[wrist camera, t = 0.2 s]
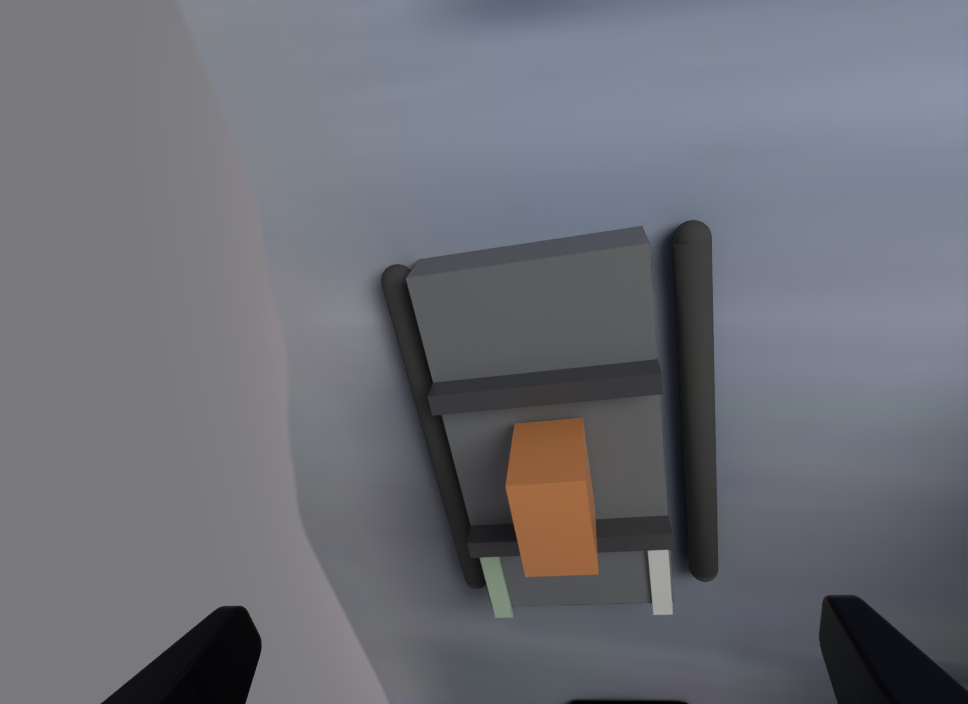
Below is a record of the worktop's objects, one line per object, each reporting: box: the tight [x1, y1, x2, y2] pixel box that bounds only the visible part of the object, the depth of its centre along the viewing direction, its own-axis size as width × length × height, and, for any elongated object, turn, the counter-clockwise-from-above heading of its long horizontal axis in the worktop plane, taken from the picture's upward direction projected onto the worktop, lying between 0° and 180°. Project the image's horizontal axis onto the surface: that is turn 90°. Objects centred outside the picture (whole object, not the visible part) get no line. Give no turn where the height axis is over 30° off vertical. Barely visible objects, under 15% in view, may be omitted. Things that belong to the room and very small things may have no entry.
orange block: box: [505, 418, 599, 577], centre depth 20 cm, size 4×2×4 cm, turn 11°
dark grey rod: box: [381, 264, 486, 589], centre depth 24 cm, size 16×1×1 cm, turn 11°
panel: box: [406, 226, 674, 618], centre depth 23 cm, size 16×8×3 cm, turn 11°
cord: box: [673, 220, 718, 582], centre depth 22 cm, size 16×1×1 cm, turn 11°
